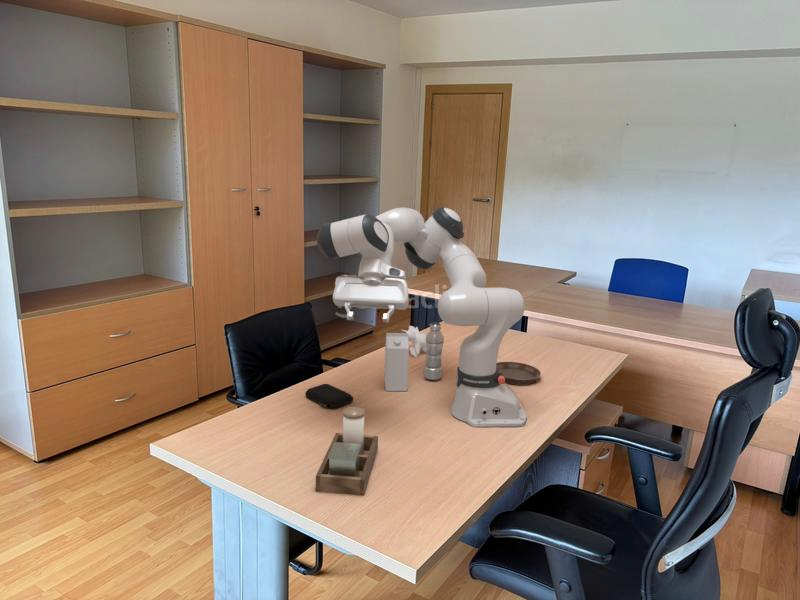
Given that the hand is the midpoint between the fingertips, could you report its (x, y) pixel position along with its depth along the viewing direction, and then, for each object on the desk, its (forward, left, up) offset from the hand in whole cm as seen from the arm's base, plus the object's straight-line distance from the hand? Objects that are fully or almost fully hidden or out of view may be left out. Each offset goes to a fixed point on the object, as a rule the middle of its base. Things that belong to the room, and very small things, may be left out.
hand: (367, 320), depth 148 cm
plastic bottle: (-16, -47, -34) cm, 60 cm away
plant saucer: (-45, -54, -34) cm, 78 cm away
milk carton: (-4, -37, -34) cm, 50 cm away
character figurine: (-8, -73, -34) cm, 80 cm away
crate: (+1, +19, -33) cm, 38 cm away
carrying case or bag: (+16, -23, -34) cm, 44 cm away
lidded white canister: (+1, +14, -32) cm, 35 cm away
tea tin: (+1, +24, -32) cm, 40 cm away
